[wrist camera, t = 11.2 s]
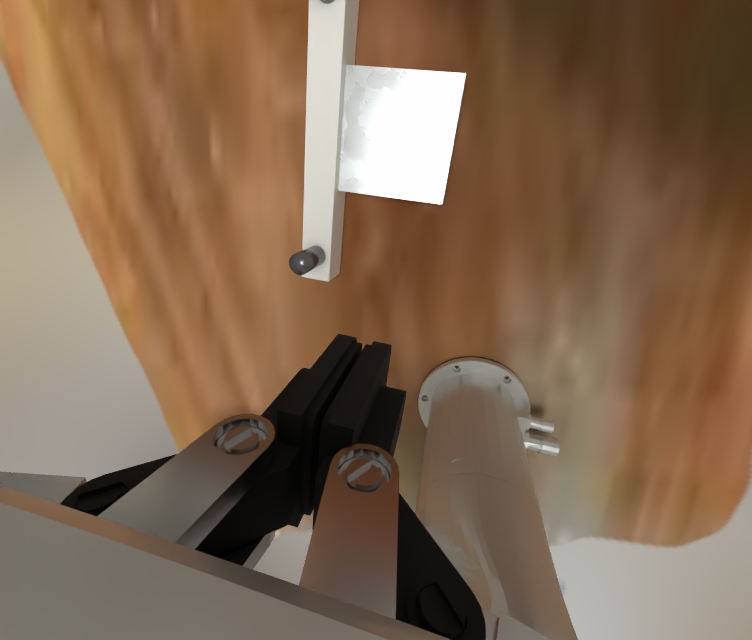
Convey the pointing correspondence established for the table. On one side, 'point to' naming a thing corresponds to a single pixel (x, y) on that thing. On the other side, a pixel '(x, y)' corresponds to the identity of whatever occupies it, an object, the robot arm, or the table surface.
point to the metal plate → (399, 131)
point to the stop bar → (325, 135)
